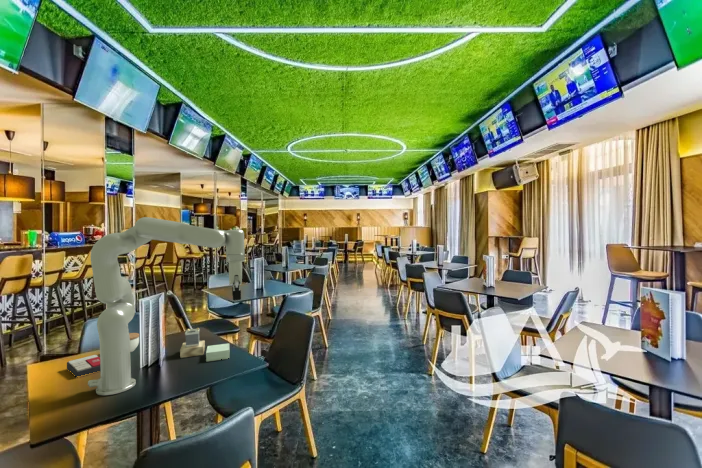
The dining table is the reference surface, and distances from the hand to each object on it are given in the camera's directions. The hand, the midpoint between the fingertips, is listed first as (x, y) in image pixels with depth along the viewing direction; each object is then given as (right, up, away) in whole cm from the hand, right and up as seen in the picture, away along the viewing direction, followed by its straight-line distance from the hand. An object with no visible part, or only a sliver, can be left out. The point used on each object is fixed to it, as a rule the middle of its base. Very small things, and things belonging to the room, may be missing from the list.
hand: (236, 297), depth 144 cm
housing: (-29, -27, +21) cm, 45 cm away
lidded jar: (-64, -32, +26) cm, 76 cm away
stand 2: (-14, -31, +16) cm, 38 cm away
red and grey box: (-67, -33, +3) cm, 75 cm away
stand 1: (-29, -31, +21) cm, 48 cm away
